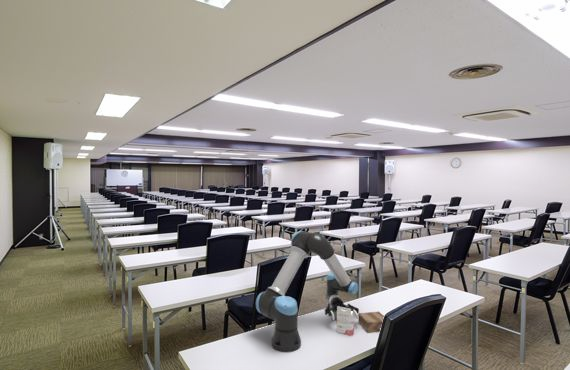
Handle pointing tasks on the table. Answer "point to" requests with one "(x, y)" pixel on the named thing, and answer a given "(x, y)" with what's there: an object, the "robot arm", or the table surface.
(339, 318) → the ink cartridge box
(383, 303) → the table surface
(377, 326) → the walnut block
